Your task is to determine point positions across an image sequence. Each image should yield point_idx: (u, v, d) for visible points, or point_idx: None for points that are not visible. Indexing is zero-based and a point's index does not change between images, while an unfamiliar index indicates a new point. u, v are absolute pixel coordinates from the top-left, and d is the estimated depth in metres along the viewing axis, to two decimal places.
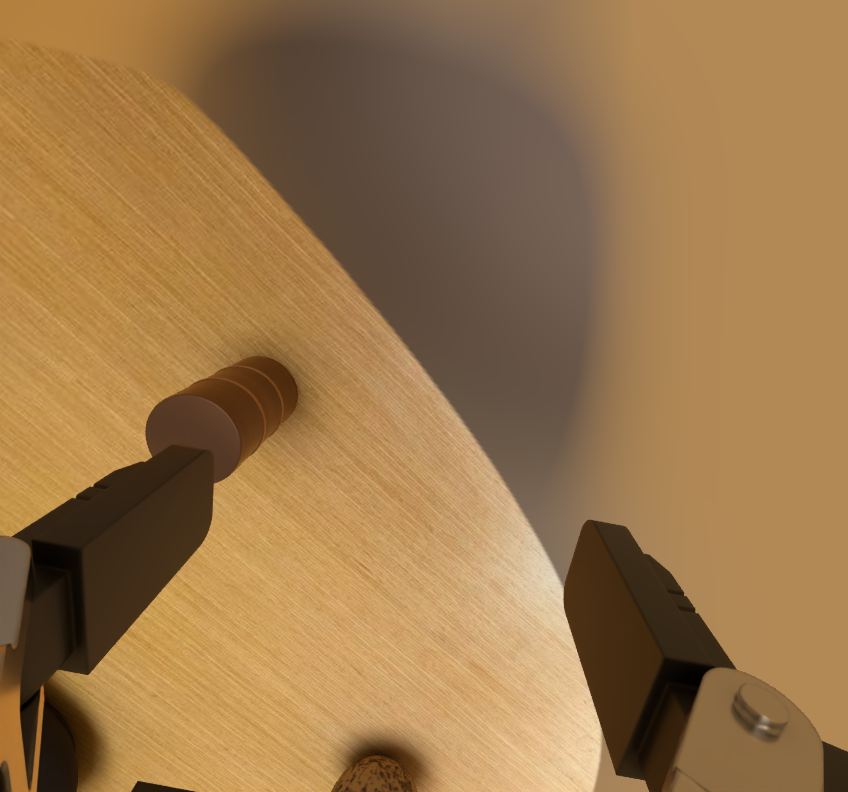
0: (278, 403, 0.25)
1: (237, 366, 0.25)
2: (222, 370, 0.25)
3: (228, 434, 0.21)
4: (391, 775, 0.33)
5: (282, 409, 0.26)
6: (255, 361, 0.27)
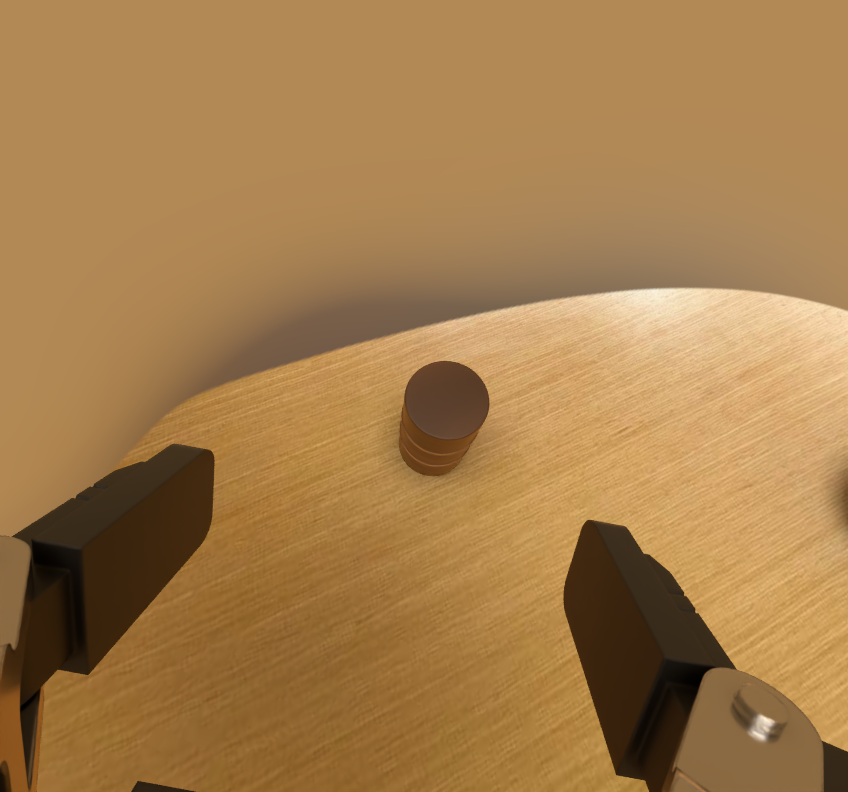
0: None
1: None
2: (400, 427, 0.28)
3: (450, 369, 0.25)
4: None
5: None
6: None
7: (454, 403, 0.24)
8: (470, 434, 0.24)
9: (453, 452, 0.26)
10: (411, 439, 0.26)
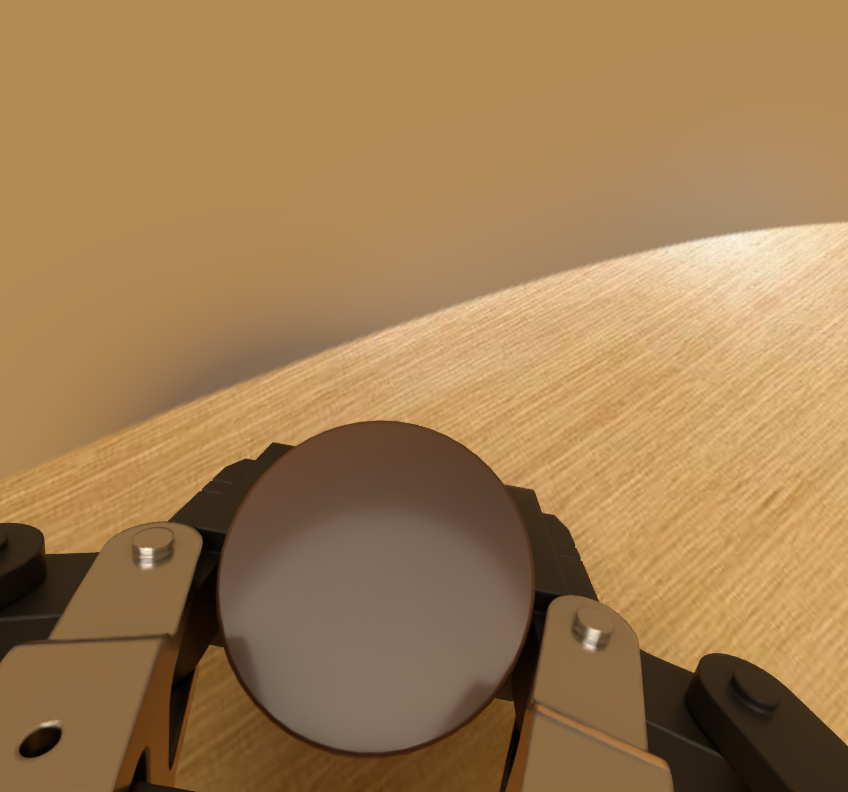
0: None
1: None
2: None
3: (382, 447, 0.07)
4: None
5: None
6: None
7: (408, 575, 0.06)
8: (487, 703, 0.06)
9: None
10: None
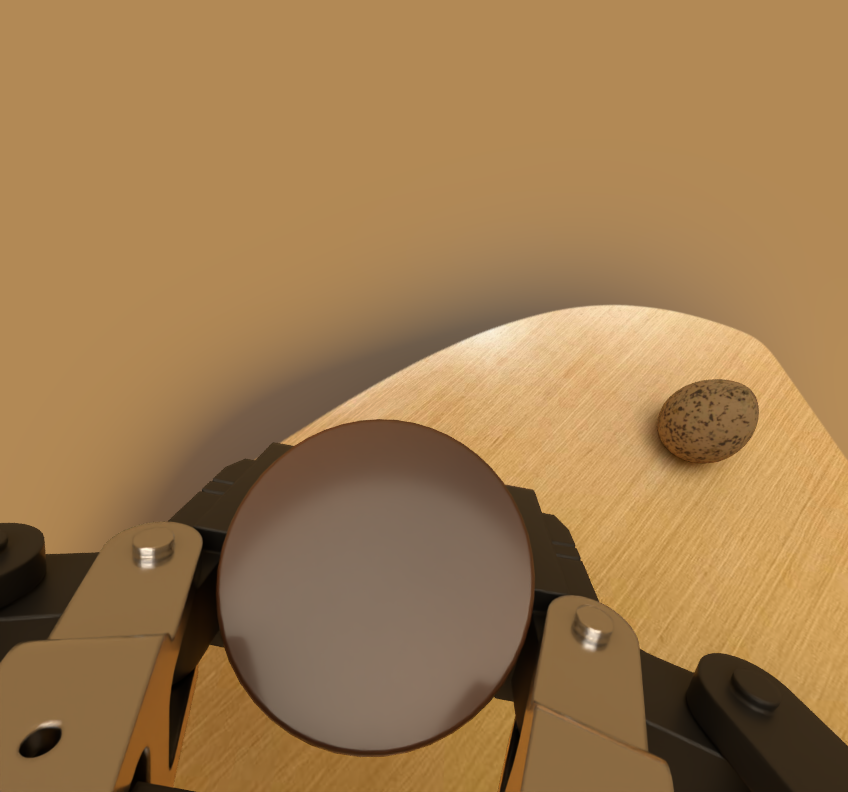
0: None
1: None
2: None
3: (382, 445, 0.07)
4: (659, 415, 0.44)
5: None
6: None
7: (408, 573, 0.06)
8: (487, 701, 0.06)
9: None
10: None
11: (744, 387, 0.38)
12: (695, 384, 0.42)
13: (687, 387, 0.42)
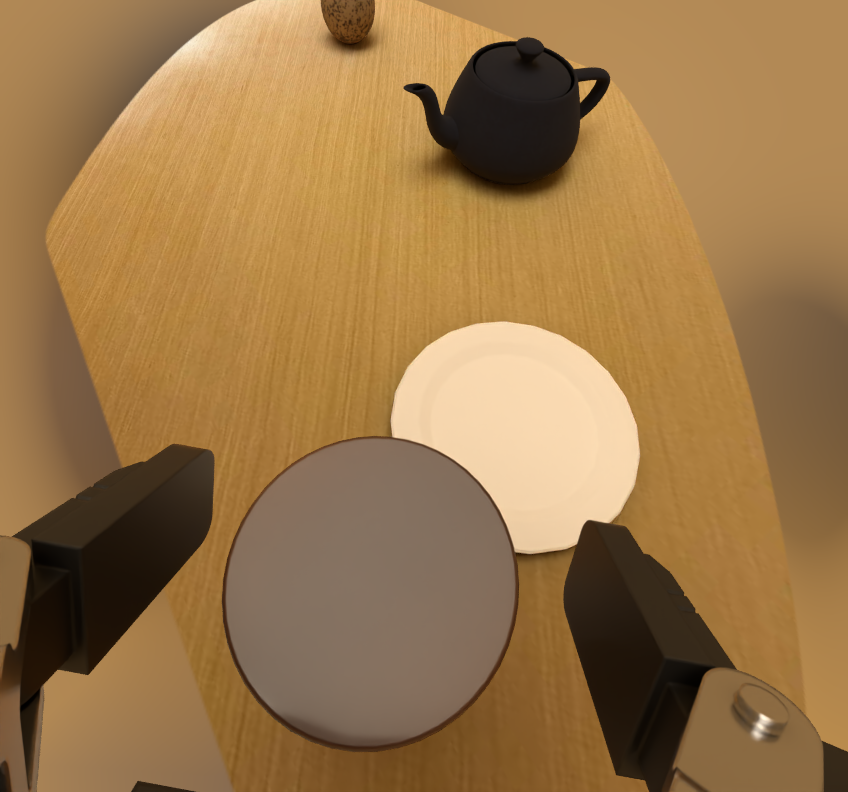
0: None
1: None
2: None
3: (377, 461, 0.08)
4: None
5: None
6: None
7: (400, 582, 0.07)
8: (472, 701, 0.06)
9: None
10: None
11: None
12: None
13: None
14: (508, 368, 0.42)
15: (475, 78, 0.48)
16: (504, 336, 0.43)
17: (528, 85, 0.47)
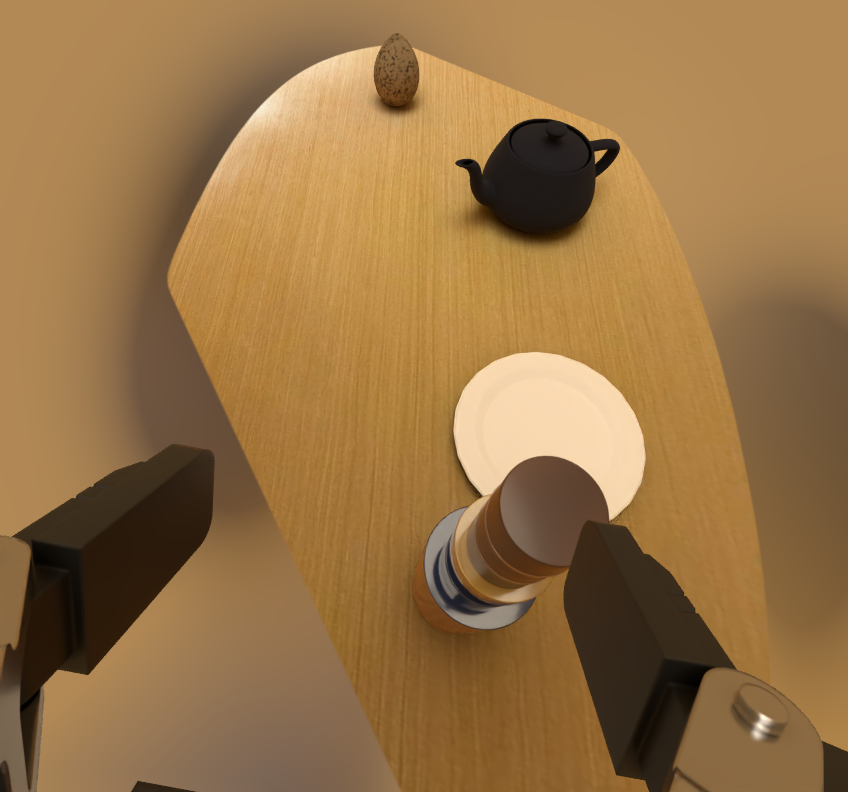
0: None
1: (475, 526, 0.23)
2: (477, 539, 0.22)
3: (548, 466, 0.19)
4: (376, 88, 0.75)
5: None
6: (472, 525, 0.25)
7: (564, 512, 0.18)
8: None
9: (562, 570, 0.20)
10: (506, 562, 0.20)
11: None
12: (378, 53, 0.72)
13: (376, 59, 0.72)
14: (541, 390, 0.54)
15: (512, 153, 0.59)
16: (538, 364, 0.54)
17: (554, 159, 0.59)
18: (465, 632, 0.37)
